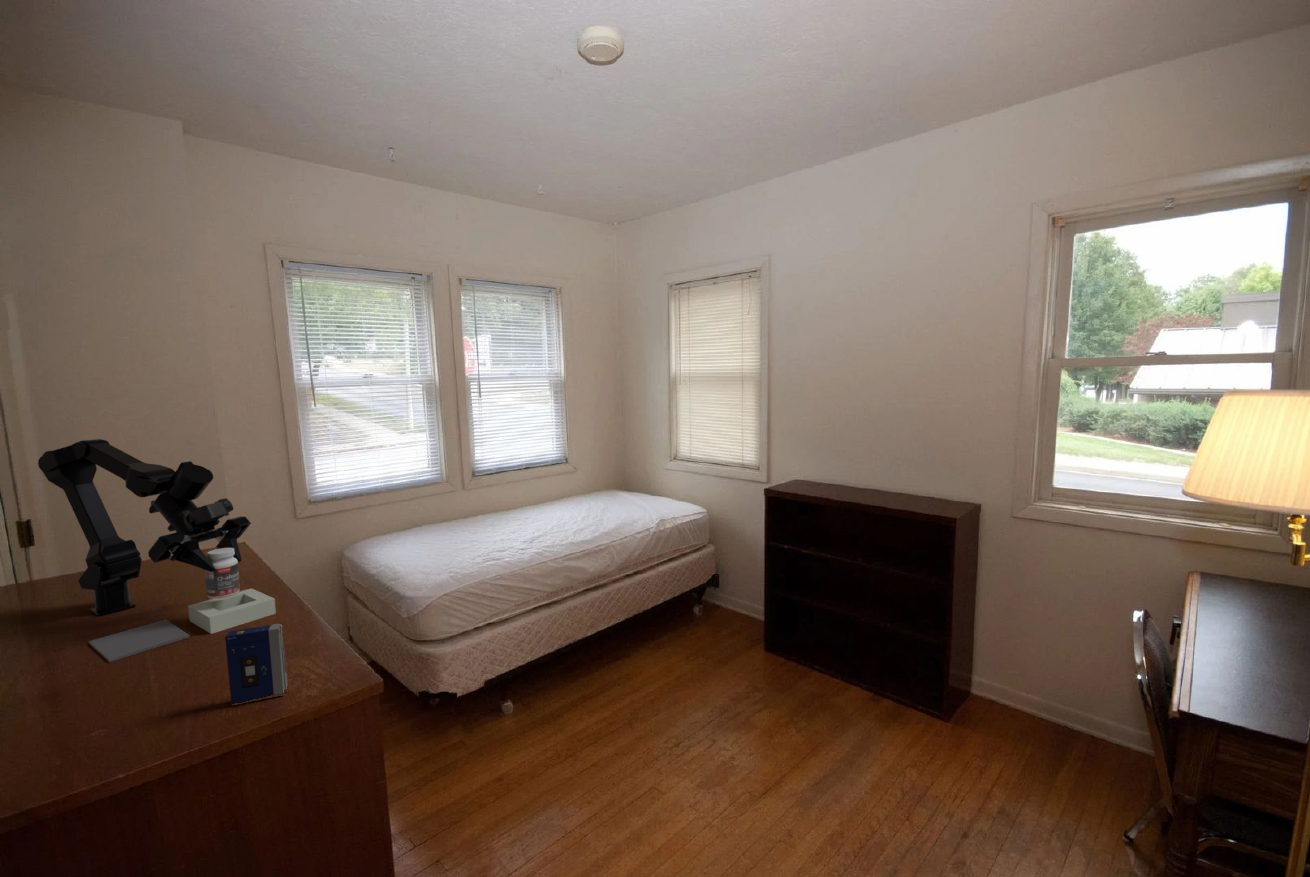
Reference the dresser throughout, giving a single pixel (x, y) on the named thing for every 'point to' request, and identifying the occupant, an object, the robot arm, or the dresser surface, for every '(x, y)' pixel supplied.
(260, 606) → the socket block
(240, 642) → the cassette player
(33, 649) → the dresser surface
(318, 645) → the dresser surface
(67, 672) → the dresser surface
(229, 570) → the pill bottle
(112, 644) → the charcoal mat
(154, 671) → the dresser surface
